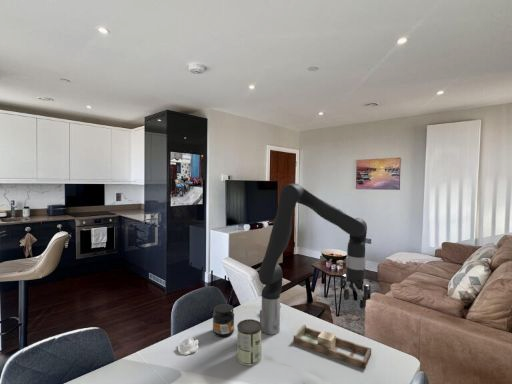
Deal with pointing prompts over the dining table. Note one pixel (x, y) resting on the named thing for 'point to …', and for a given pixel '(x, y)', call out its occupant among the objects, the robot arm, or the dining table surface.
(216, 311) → the supplement container
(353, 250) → the robot arm
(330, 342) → the oak block
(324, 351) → the track
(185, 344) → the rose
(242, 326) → the coffee can
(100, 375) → the dining table surface
